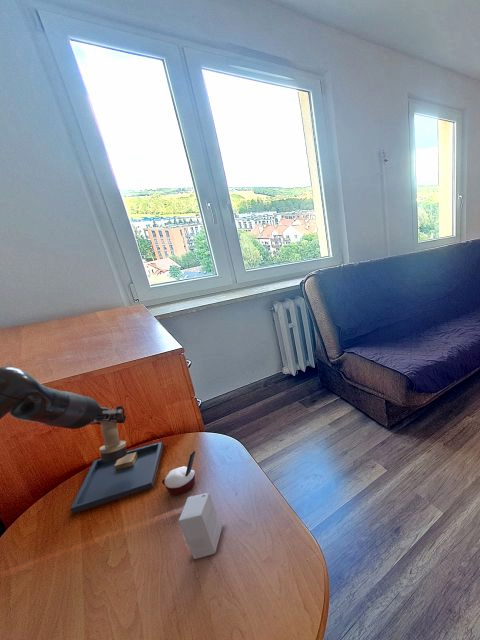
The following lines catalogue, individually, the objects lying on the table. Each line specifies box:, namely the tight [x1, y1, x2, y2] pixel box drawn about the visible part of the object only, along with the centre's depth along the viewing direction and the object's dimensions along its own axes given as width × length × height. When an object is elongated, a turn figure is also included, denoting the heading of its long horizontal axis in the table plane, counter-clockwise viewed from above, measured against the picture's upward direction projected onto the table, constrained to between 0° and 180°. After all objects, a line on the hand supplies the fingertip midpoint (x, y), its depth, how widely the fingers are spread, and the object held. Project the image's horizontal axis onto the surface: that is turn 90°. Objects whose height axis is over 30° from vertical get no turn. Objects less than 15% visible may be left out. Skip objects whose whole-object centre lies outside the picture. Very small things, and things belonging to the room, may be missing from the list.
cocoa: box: [161, 450, 196, 496], centre depth 85 cm, size 10×6×12 cm, turn 70°
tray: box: [70, 441, 164, 514], centre depth 91 cm, size 16×18×2 cm
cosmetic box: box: [178, 491, 223, 560], centre depth 72 cm, size 6×4×12 cm
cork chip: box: [114, 452, 138, 470], centre depth 95 cm, size 4×4×2 cm
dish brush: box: [99, 415, 128, 462], centre depth 89 cm, size 5×5×13 cm
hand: (115, 420), depth 91 cm, fingers closed on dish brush, 3 cm apart
